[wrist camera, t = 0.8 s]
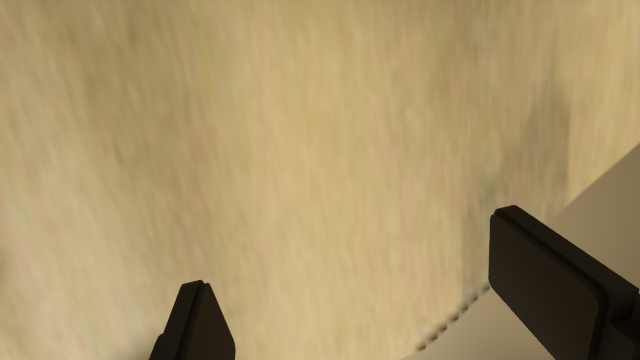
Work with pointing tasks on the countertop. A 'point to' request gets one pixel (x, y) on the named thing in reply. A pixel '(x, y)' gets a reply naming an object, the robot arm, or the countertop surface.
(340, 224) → the countertop surface
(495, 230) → the robot arm
